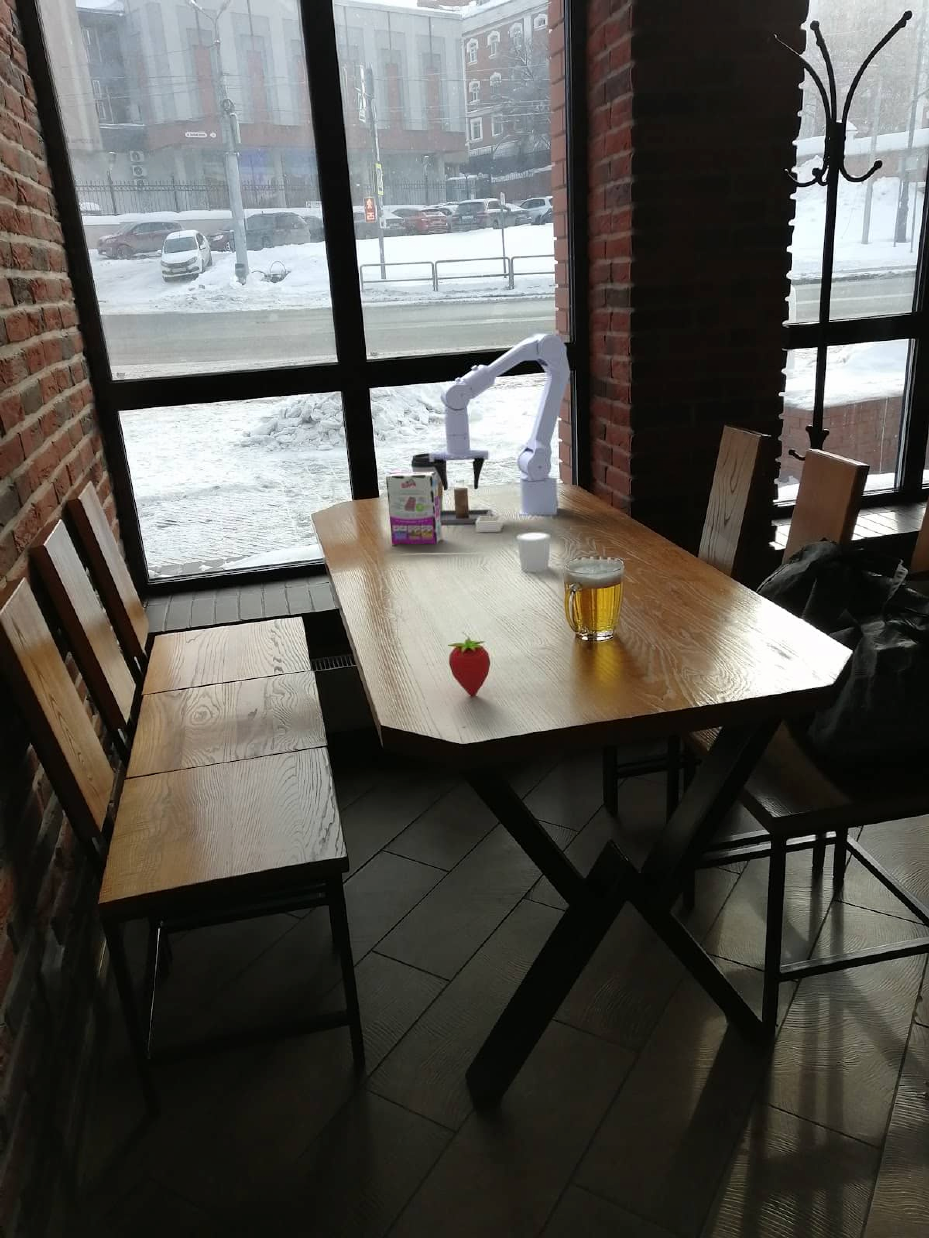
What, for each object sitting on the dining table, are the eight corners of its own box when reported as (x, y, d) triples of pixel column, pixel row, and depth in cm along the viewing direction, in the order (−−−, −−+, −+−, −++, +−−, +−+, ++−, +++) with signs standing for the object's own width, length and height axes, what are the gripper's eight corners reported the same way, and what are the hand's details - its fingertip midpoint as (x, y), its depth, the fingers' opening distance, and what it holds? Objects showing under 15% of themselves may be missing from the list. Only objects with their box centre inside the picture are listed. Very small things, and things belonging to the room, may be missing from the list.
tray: (492, 515, 239) (491, 509, 238) (487, 525, 230) (487, 518, 229) (438, 516, 241) (438, 510, 241) (432, 526, 232) (431, 520, 231)
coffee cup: (410, 515, 244) (405, 458, 239) (420, 508, 251) (416, 452, 246) (440, 516, 241) (436, 458, 236) (450, 508, 249) (446, 452, 244)
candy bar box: (442, 540, 219) (438, 470, 213) (437, 545, 214) (432, 475, 209) (397, 539, 222) (391, 471, 216) (391, 545, 217) (385, 475, 212)
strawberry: (455, 709, 132) (451, 643, 128) (447, 687, 139) (443, 625, 135) (496, 703, 132) (493, 638, 129) (486, 683, 139) (483, 620, 136)
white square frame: (502, 526, 227) (502, 515, 226) (500, 533, 222) (499, 521, 221) (479, 527, 228) (478, 516, 227) (476, 533, 223) (475, 522, 222)
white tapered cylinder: (549, 573, 189) (548, 540, 187) (515, 573, 191) (514, 540, 188) (552, 563, 196) (552, 531, 193) (520, 563, 197) (519, 531, 195)
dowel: (469, 516, 236) (468, 487, 234) (468, 520, 233) (466, 490, 231) (456, 517, 237) (454, 488, 234) (455, 520, 234) (453, 491, 231)
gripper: (425, 438, 225) (429, 493, 230) (484, 435, 223) (488, 491, 228) (430, 433, 232) (434, 487, 237) (488, 431, 230) (491, 485, 234)
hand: (461, 488), depth 233 cm, fingers open, 7 cm apart
